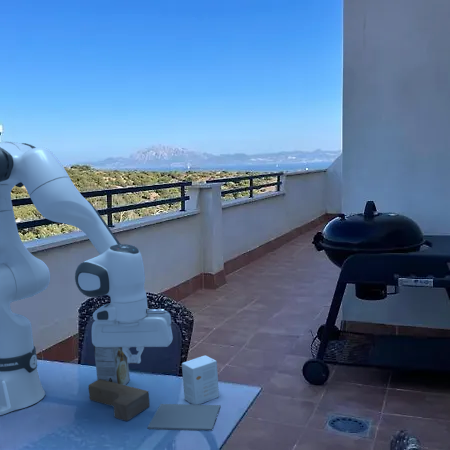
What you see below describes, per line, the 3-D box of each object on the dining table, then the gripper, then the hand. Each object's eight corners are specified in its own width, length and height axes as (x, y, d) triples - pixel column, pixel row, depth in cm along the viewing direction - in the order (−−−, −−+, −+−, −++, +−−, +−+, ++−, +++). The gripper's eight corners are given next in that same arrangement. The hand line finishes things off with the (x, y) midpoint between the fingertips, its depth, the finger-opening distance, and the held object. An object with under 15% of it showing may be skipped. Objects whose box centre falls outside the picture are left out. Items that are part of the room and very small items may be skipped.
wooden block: (125, 405, 135) (75, 391, 144) (127, 421, 135) (76, 407, 145) (148, 390, 142) (99, 378, 152) (150, 406, 143) (100, 393, 152)
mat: (147, 429, 131) (147, 427, 131) (160, 405, 143) (160, 403, 143) (212, 430, 129) (212, 428, 129) (220, 406, 141) (220, 405, 141)
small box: (208, 390, 151) (205, 354, 149) (219, 397, 146) (217, 360, 145) (183, 399, 146) (181, 362, 145) (194, 406, 142) (192, 368, 140)
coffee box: (110, 379, 162) (105, 328, 159) (130, 380, 160) (126, 328, 158) (97, 393, 153) (92, 339, 150) (119, 394, 152) (114, 339, 149)
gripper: (173, 305, 135) (177, 357, 137) (96, 306, 139) (101, 357, 141) (167, 312, 129) (171, 367, 131) (86, 314, 133) (91, 367, 134)
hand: (134, 362), depth 136 cm, fingers closed
